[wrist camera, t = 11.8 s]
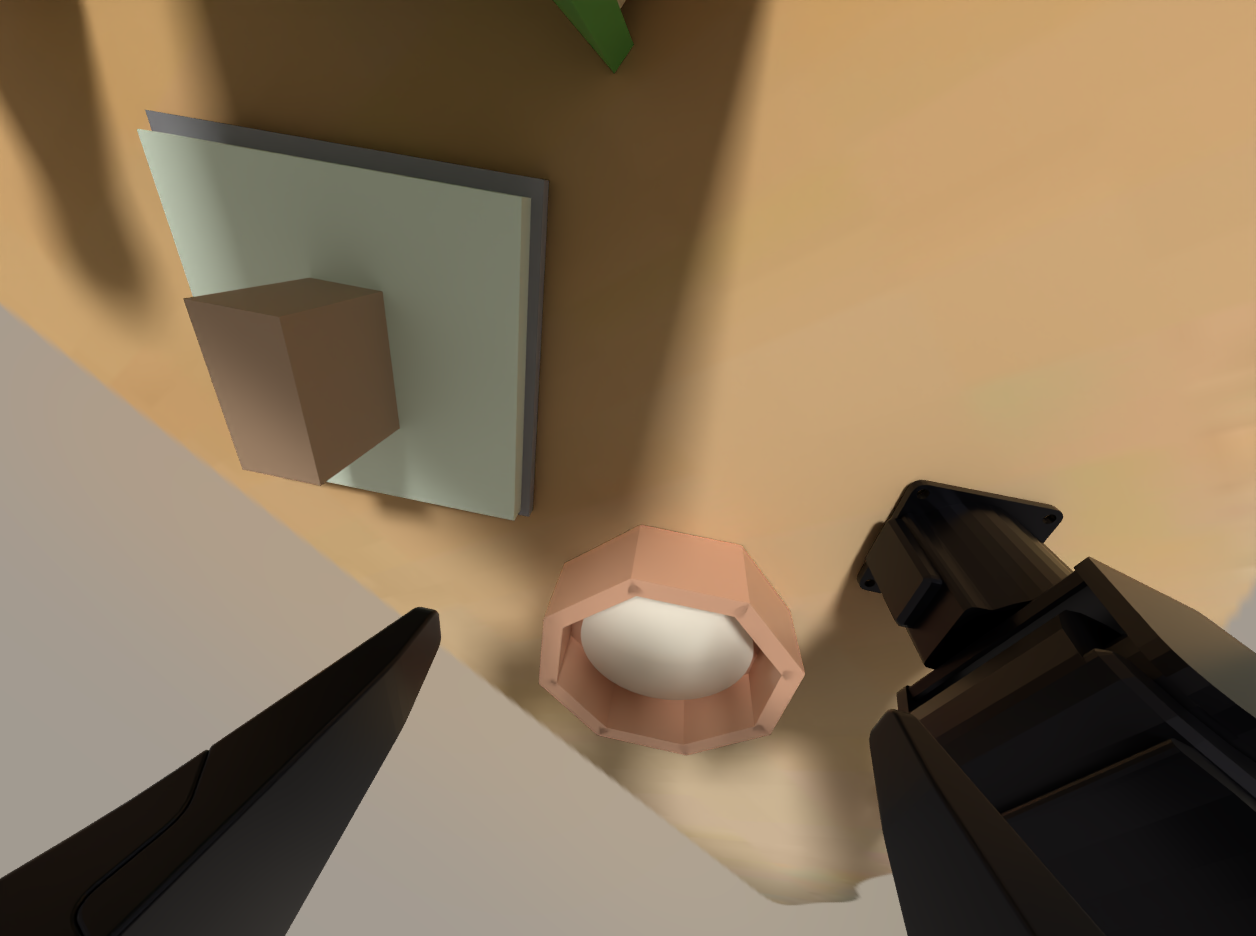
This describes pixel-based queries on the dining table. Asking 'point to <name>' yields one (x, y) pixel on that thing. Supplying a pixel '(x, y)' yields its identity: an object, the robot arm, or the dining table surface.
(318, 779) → the robot arm
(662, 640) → the bowl
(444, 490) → the lid
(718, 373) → the dining table surface
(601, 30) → the hardback book
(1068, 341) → the dining table surface
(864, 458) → the dining table surface
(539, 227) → the mat
